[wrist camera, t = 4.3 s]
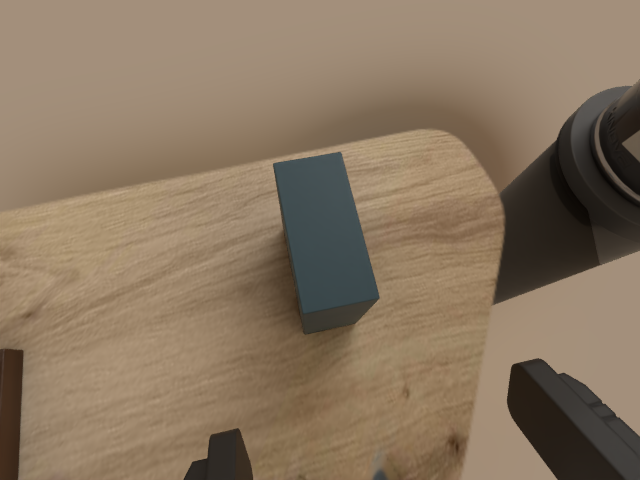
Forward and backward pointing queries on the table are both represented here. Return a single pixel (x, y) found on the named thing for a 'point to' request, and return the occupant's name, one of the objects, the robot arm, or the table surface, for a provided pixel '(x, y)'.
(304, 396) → the table surface
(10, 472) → the brown wooden stand
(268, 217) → the table surface
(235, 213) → the table surface
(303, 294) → the back pad
